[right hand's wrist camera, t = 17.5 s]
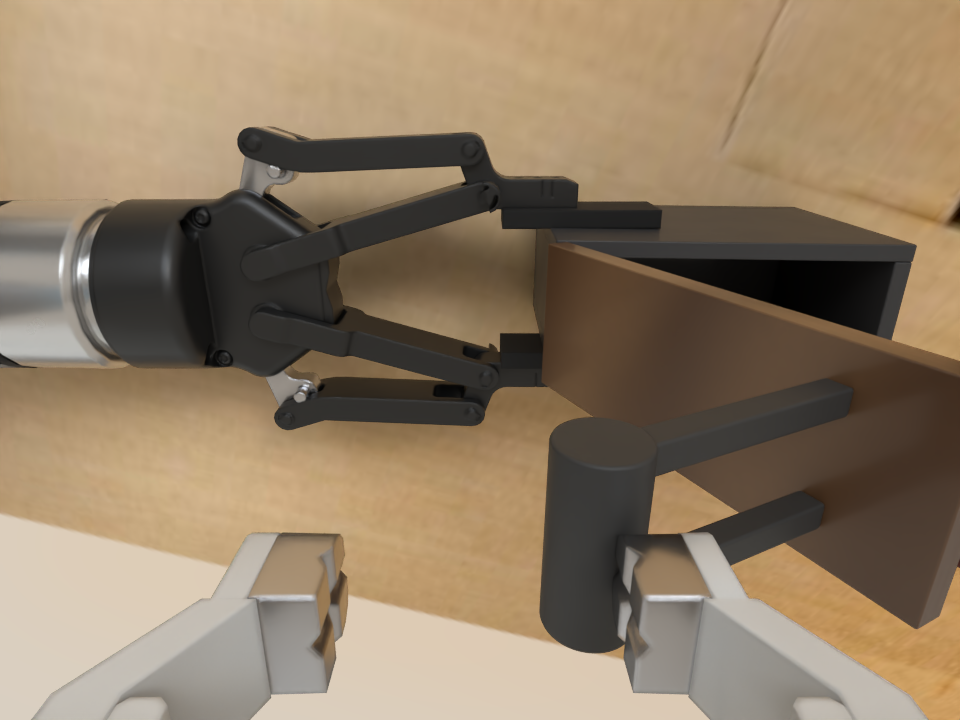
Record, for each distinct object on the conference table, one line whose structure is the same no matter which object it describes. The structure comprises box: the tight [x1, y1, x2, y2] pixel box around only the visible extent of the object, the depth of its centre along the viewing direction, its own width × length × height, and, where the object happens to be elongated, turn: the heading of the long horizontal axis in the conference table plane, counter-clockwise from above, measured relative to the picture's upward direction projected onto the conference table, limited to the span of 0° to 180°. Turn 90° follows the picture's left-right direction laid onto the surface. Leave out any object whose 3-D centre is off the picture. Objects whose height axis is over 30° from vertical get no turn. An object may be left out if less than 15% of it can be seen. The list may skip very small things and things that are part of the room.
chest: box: [533, 205, 917, 346], centre depth 29 cm, size 13×6×10 cm, turn 89°
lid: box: [540, 242, 960, 653], centre depth 17 cm, size 14×6×8 cm
